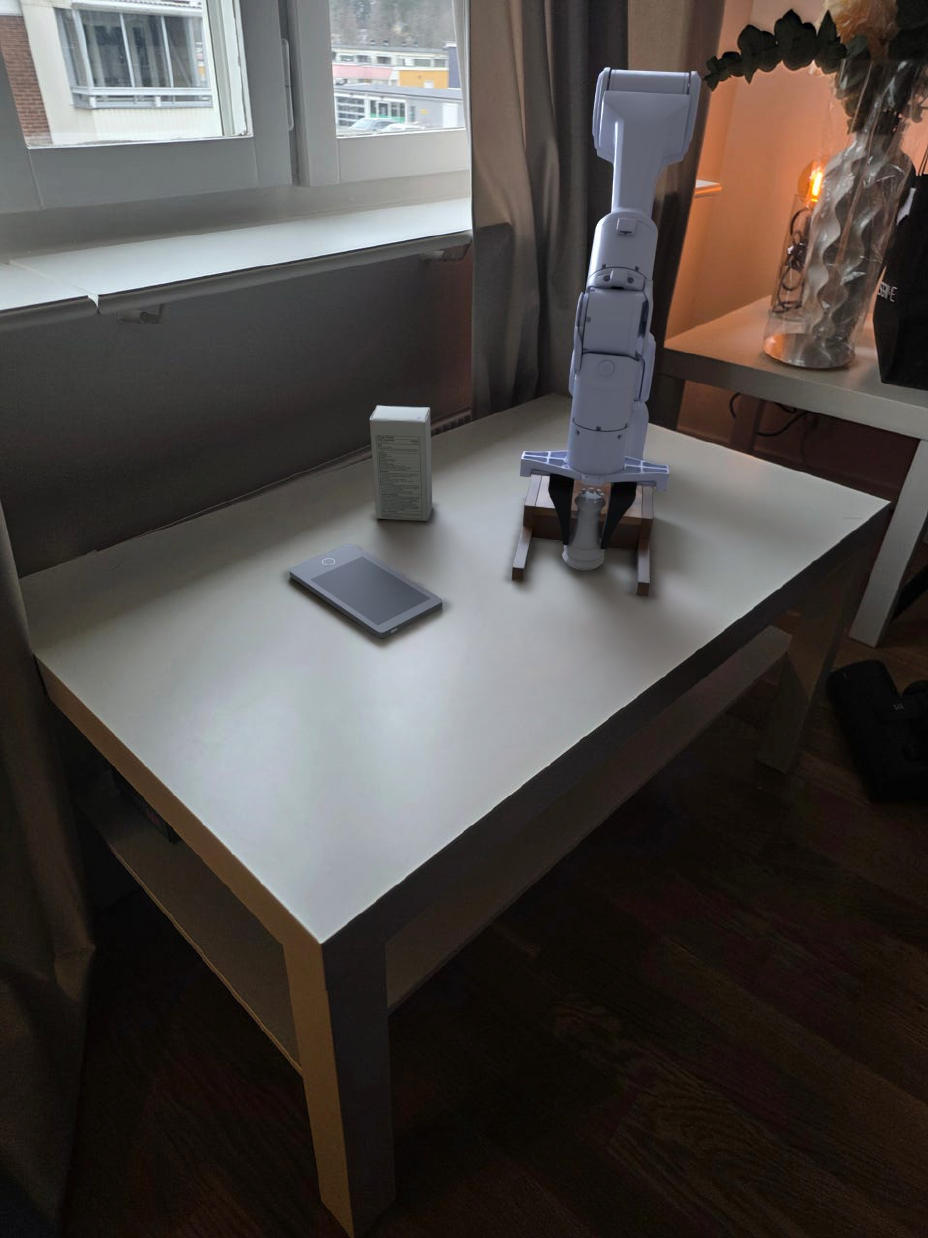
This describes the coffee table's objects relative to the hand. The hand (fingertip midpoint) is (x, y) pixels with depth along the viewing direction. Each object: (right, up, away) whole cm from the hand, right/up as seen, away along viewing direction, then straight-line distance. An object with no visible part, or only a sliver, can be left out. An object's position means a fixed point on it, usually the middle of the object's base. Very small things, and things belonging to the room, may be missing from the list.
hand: (584, 542), depth 88 cm
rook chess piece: (0, -2, +1) cm, 2 cm away
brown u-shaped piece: (+1, 0, +5) cm, 5 cm away
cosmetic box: (-20, +4, +10) cm, 23 cm away
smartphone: (-23, -5, -4) cm, 24 cm away
